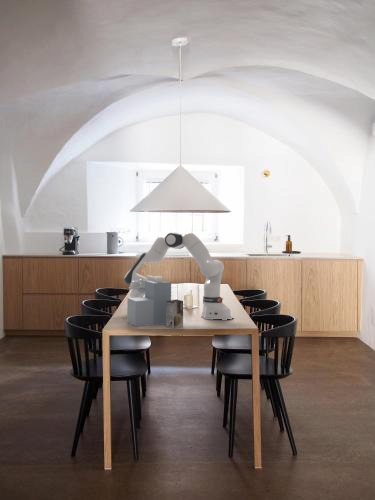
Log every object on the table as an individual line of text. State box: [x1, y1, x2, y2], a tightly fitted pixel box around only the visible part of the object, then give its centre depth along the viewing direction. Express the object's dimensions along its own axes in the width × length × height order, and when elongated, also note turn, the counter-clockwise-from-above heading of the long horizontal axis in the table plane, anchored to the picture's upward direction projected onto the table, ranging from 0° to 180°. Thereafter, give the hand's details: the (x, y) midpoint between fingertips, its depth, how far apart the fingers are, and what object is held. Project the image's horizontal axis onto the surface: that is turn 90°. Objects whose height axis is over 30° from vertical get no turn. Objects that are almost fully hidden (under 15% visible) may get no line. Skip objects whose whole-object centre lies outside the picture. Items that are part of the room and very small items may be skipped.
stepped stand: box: [126, 280, 172, 327], centre depth 310 cm, size 14×24×26 cm, turn 118°
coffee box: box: [165, 299, 184, 329], centre depth 299 cm, size 9×6×16 cm
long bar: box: [146, 275, 164, 282], centre depth 317 cm, size 20×4×4 cm, turn 28°
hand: (148, 279), depth 326 cm, fingers open, 8 cm apart
